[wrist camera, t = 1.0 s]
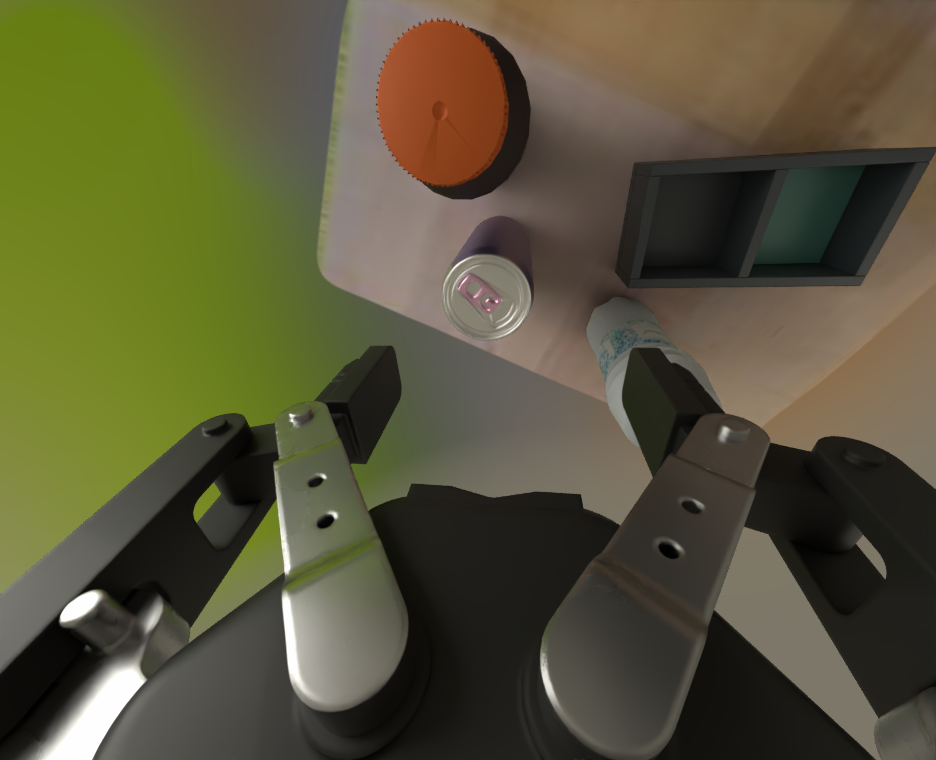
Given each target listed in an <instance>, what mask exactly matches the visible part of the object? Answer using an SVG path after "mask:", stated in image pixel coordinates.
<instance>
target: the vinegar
mask: <svg viewBox="0 0 936 760" xmlns="http://www.w3.org/2000/svg"><path fill="white" fill-rule="evenodd" d="M413 28H414V29H412V30H409V29H408V32H406V33H405V34H404V33H402V34H403V37H402V38H401V39H400V38H399V37H398V40H399V41H398V43H397V44H395V43H393V44H394V47H393V48H392V49H390V53H389V55H386V56H387V60H386V62H385V61H383V63H384V64H385V65H384V67H383V68H381V70H382V72H381V75H379V77H380V82H377V83H378V84H379V89H376V90H377V91H378V96H376V98H377V102H378V103H377V104H376V105H377V106H378V111H376V112H377V113H379V118H377V119H379V120H380V124H379V126H381V129H382V131H381V133H383V134H384V137H383V139H385V140H386V142H387V143H386V145H388V148H389V150H388V151H391V152H392V153H393V154H392V156H395V158H396V160H395V161H398V162H399V163H400V164H399V166H402V167H404V169H403V170H407V171H408V174H412V177H416V178H417V180H419V181H421V182H422V183H423V184H424V185H426V186H427V187H428V188H429V189H431V190H432V191H433V192H435V193H437V194H440V195H443V196H445V197H448V198H451V199H475V198H477V197H480V196H483V195H486V194H488V193H491V192H492V191H493V190H495V189H496V188H497V187H498V186H500V185H501V184H502V183H503V182H504V181H506V180H507V179H508V178H509V176H510V175H511V173H512V172H513V171H514V169H515V168H516V166H517V165H518V163H519V162H520V160H521V159H522V156H523V153H524V150H525V147H526V144H527V140H528V136H529V125H530V111H531V107H530V101H529V96H528V91H527V86H526V80H525V78H524V76H523V75H522V73H521V71H520V69H519V67H518V65H517V63H516V61H515V59H514V57H513V55H512V54H511V53H510V52H509V51H508V50H507V49H506V48H504V47H503V46H502V45H501V44H500V43H499V42H498V41H497V40H496V39H495V38H494V37H492V36H490V35H487V34H485V33H482V32H480V31H477V30H475V29H472V28H469V27H468V28H465V27H464V25H463V23H462V25H461V26H459V24H458V22H457V21H456V22H455V24H454V23H452V21H451V19H450V20H449V21H446V20H445V18H444V19H443V21H440V20H439V19H438V18H437V22H434V21H433V20H432V18H431V22H427V21H426V20H425V23H423V24H421V23H420V22H419V26H418V27H415V26H414V25H413Z"/></svg>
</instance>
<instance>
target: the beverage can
mask: <svg viewBox="0 0 936 760" xmlns="http://www.w3.org/2000/svg"><path fill="white" fill-rule="evenodd" d="M533 299H534V284H533V273H532V262H531V251H530V242H529V238H528V235H527V233H526V231H525V229H524V228H523V227H522V226H521V225H520V224H519V223H518V222H517V221H515V220H513V219H511V218H509V217H504V216H495V217H491V218H488V219H486V220H484V221H483V222H481V223H480V224H479V225H478V226H477V227H476V228H475V230H474V231H473V233H472V234H471V236H470V237H469V238H468V240H467V241H466V243H465V244H464V246H463V247H462V249H461V250H460V252H459V253H458V255H457V256H456V258H455V259H454V261H453V262H452V264H451V265H450V267H449V268H448V270H447V272H446V274H445V277H444V281H443V287H442V302H443V307H444V310H445V313H446V315H447V317H448V319H449V320H450V322H451V323H452V324H453V326H454V327H455V328H456V329H458V330H459V331H460V332H461V333H463V334H465V335H467V336H469V337H471V338H474V339H478V340H486V341H489V340H497V339H501V338H504V337H506V336H508V335H510V334H512V333H513V332H514V331H516V330H517V329H518V328H519V327H520V326H521V325H522V323H523V322H524V321H525V319H526V317H527V315H528V313H529V311H530V309H531V306H532V303H533Z"/></svg>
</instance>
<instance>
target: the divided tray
mask: <svg viewBox="0 0 936 760" xmlns="http://www.w3.org/2000/svg"><path fill="white" fill-rule="evenodd" d="M935 152H936V147H918V148H880V149H860V150H843V151H826V152H809V153H792V154H775V155H758V156H741V157H724V158H707V159H690V160H673V161H656V162H639V163H634V166H633V172H632V178H631V184H630V189H629V195H628V201H627V207H626V212H625V218H624V224H623V230H622V236H621V241H620V247H619V253H618V259H617V264H616V270H615V273H616V274H617V275H618V276H619V278H620V279H621V280H622V281H623V282H624V284H625V285H626V286H627V287H628V288H699V287H793V286H860V285H861V284H862V282H863V280H864V278H865V277H866V275H867V273H868V271H869V270H870V268H871V266H872V264H873V263H874V261H875V259H876V257H877V255H878V254H879V252H880V250H881V248H882V247H883V245H884V243H885V241H886V239H887V238H888V236H889V234H890V232H891V231H892V229H893V227H894V225H895V223H896V222H897V220H898V218H899V216H900V215H901V213H902V211H903V209H904V207H905V206H906V204H907V202H908V200H909V199H910V197H911V195H912V193H913V192H914V190H915V188H916V186H917V184H918V183H919V181H920V179H921V177H922V176H923V174H924V172H925V170H926V168H927V167H928V165H929V163H930V162H929V161H931V159H932V158H933V156H934V154H935Z"/></svg>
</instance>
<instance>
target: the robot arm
mask: <svg viewBox="0 0 936 760" xmlns="http://www.w3.org/2000/svg"><path fill="white" fill-rule="evenodd" d="M400 397H401V380H400V375H399V370H398V364H397V359H396V353H395V350H394V348H393V347H392V346H370V347H369V348H368V349H367V350H366V352H365V353H364V354H363V355H362V356H361V357H360V359H356V360H354V361H352V362H351V363H349V364H347V365H346V366H345V367H344V368H343V369H342V370H341V371H340V372H339V373H338V375H337V376H336V377H335V378H334V379H333V380H332V382H330V383H329V385H328V386H327V387H326V388H325V389H324V390H323V391H322V392H321V393H320V395H319V396H318V397H317V398H316V399H315V400H314V401H307V402H302V403H299V404H296V405H293V406H291V407H289V408H287V409H286V410H284V411H283V412H281V413H280V414H279V415H278V416H277V418H276V420H275V423H273V424H267V425H261V426H255V427H249V425H248V423H247V421H246V419H245V417H244V416H243V415H241V414H237V413H231V414H224V415H219V416H216V417H214V418H211V419H208V420H207V421H204V422H202V423H201V424H199V425H197V426H196V427H195V428H193V429H192V430H191V431H190V432H189V433H188V434H186V435H185V436H184V437H183V438H182V439H181V440H179V441H178V442H177V443H176V444H175V445H174V446H172V447H171V448H170V449H169V450H168V451H167V452H166V453H164V454H163V455H162V456H161V457H160V458H158V459H157V460H156V461H155V462H154V463H153V464H151V465H150V466H149V467H148V468H147V469H146V470H144V472H142V473H141V474H140V475H139V476H137V477H136V478H135V479H134V480H133V481H132V482H130V483H129V484H128V485H127V486H126V487H125V488H124V489H122V490H121V491H120V492H119V493H118V494H116V495H115V496H114V497H113V498H112V499H111V500H110V501H108V502H107V503H106V504H105V505H104V506H102V507H101V508H100V509H99V510H98V511H97V512H95V513H94V514H93V515H92V516H91V517H90V518H88V519H87V520H86V521H85V522H84V523H83V524H81V525H80V526H79V527H78V528H77V529H76V530H74V531H73V532H72V533H71V534H70V535H69V536H67V537H66V538H65V539H64V540H63V541H62V542H60V543H59V544H58V545H57V546H56V547H55V548H54V549H52V550H51V551H50V552H49V553H48V554H46V555H45V556H44V557H43V558H42V559H41V560H40V561H38V562H37V563H36V564H35V565H34V566H32V567H31V568H30V569H29V570H28V571H27V572H25V573H24V574H23V575H22V576H21V577H20V578H18V579H17V580H16V581H15V582H14V583H13V584H11V585H10V586H9V587H8V588H7V589H6V590H4V591H3V592H2V593H1V594H0V760H875V759H874V758H873V757H872V756H871V755H870V754H869V753H868V752H867V751H866V750H865V749H864V748H863V747H862V746H861V745H860V744H859V743H858V742H857V741H855V740H854V739H853V738H852V737H851V736H850V735H849V734H848V733H847V732H846V731H845V730H844V729H843V728H841V727H840V726H839V725H838V724H837V723H836V722H835V721H834V720H833V719H832V718H831V717H829V716H828V715H827V714H826V713H825V712H824V711H823V710H822V709H821V708H820V707H819V706H818V705H816V704H815V703H814V702H813V701H812V700H811V699H810V698H809V697H808V696H807V695H806V694H805V693H804V692H803V691H801V690H800V689H799V688H798V687H797V686H796V685H795V684H794V683H793V682H791V680H789V679H788V678H787V677H786V676H785V675H784V674H783V673H782V672H781V671H780V670H779V669H777V667H775V666H774V665H773V664H772V663H771V662H770V661H769V660H768V659H767V658H766V657H765V656H764V655H762V654H761V653H760V652H759V651H758V650H757V649H756V648H755V647H754V646H753V645H752V644H751V643H749V642H748V641H747V640H746V639H745V638H744V637H743V636H742V635H741V634H740V633H739V632H738V631H737V630H735V629H734V628H733V627H732V626H731V625H730V624H729V623H728V622H727V621H726V620H725V619H724V618H722V617H721V616H720V615H719V614H718V613H717V612H716V611H715V610H714V608H715V605H716V603H717V600H718V597H719V594H720V592H721V588H722V586H723V583H724V580H725V578H726V575H727V572H728V569H729V566H730V564H731V561H732V558H733V555H734V552H735V549H736V547H737V544H738V541H739V539H740V535H741V533H742V530H743V527H747V528H750V529H753V530H757V531H760V532H763V533H766V534H769V536H770V538H771V540H772V541H773V543H774V544H775V546H776V548H777V549H778V551H779V553H780V555H781V556H782V558H783V560H784V561H785V563H786V564H787V566H788V568H789V570H790V571H791V573H792V575H793V576H794V578H795V580H796V581H797V583H798V585H799V586H800V588H801V590H802V591H803V593H804V595H805V596H806V598H807V600H808V601H809V603H810V604H811V606H812V608H813V610H814V611H815V613H816V615H817V616H818V618H819V620H820V621H821V623H822V625H823V626H824V628H825V630H826V631H827V633H828V635H829V636H830V638H831V640H832V641H833V643H834V645H835V646H836V648H837V649H838V651H839V653H840V654H841V656H842V658H843V660H844V661H845V663H846V665H847V666H848V668H849V670H850V671H851V673H852V675H853V676H854V678H855V680H856V681H857V683H858V685H859V686H860V688H861V690H862V691H863V693H864V695H865V696H866V698H867V700H868V701H869V703H870V705H871V706H872V708H873V710H874V711H875V713H876V715H877V716H878V718H879V719H878V720H877V722H876V725H875V728H874V738H875V744H876V747H877V750H878V753H879V755H880V758H881V760H936V489H934V488H933V487H932V486H931V485H930V484H928V483H927V482H926V481H925V480H924V479H923V478H921V477H920V476H919V475H918V474H916V473H915V472H914V471H913V470H912V469H911V468H909V467H908V466H907V465H906V464H904V463H903V462H902V461H901V460H899V459H898V458H897V457H895V456H893V455H892V454H890V453H889V452H887V451H884V450H883V449H880V448H878V447H876V446H874V445H871V444H868V443H866V442H863V441H859V440H855V439H851V438H846V437H838V436H837V437H836V436H831V437H824V438H821V439H819V440H818V442H817V443H816V445H815V446H814V448H813V449H812V451H811V452H810V451H805V450H801V449H796V448H791V447H787V446H782V445H778V444H774V443H770V438H769V436H768V434H767V433H766V432H765V431H764V430H763V429H762V428H760V427H759V426H757V425H756V424H754V423H752V422H750V421H748V420H746V419H744V418H741V417H738V416H734V415H730V414H725V412H724V411H723V410H722V409H721V408H720V406H719V405H718V404H717V403H716V402H715V400H714V399H713V398H712V397H711V396H710V394H709V393H708V392H707V391H705V388H704V387H703V386H702V385H701V383H698V380H697V379H696V377H695V376H694V375H693V374H692V373H691V371H689V370H687V369H686V368H684V367H682V366H681V365H679V364H677V363H671V362H670V361H669V360H668V358H667V357H666V356H665V355H664V353H663V352H662V351H661V349H660V348H641V347H634V348H632V349H631V351H630V354H629V359H628V364H627V368H626V373H625V378H624V383H623V388H622V404H623V408H624V410H625V413H626V415H627V417H628V420H629V422H630V424H631V427H632V429H633V431H634V434H635V436H636V438H637V441H638V443H639V446H640V448H641V450H642V453H643V455H644V457H645V460H646V462H647V464H648V467H649V469H650V471H651V474H652V476H653V479H652V480H651V482H650V483H649V484H648V486H647V488H646V489H645V490H644V492H643V493H642V495H641V496H640V498H639V499H638V501H637V502H636V504H635V505H634V507H633V508H632V510H631V511H630V512H629V514H628V515H627V517H626V518H625V520H624V521H623V523H622V524H621V526H620V525H619V524H617V523H615V522H614V521H612V520H610V519H608V518H606V517H604V516H602V515H600V514H597V513H595V512H593V511H590V510H587V509H583V504H582V498H581V494H567V493H552V492H531V493H524V494H517V495H510V496H503V497H496V498H492V497H486V496H483V495H480V494H476V493H473V492H470V491H466V490H462V489H459V488H456V487H452V486H442V485H441V486H440V485H426V484H411V486H410V489H409V492H408V495H407V497H401V498H397V499H394V500H391V501H388V502H385V503H383V504H381V505H378V506H376V507H374V508H372V509H371V510H369V511H368V509H367V506H366V503H365V501H364V498H363V496H362V493H361V491H360V488H359V486H358V483H357V480H356V478H355V475H354V472H353V470H352V467H351V463H356V464H366V463H367V461H368V459H369V458H370V456H371V454H372V452H373V450H374V448H375V446H376V444H377V442H378V440H379V439H380V437H381V435H382V433H383V431H384V429H385V427H386V425H387V423H388V421H389V419H390V417H391V416H392V414H393V412H394V410H395V408H396V406H397V404H398V402H399V400H400ZM213 482H214V483H215V485H216V486H217V488H218V489H219V491H220V492H221V495H220V496H219V497H218V499H217V500H216V501H215V502H214V503H213V505H212V506H211V507H210V508H209V509H208V511H207V512H206V513H205V514H204V515H203V517H202V518H201V519H200V520H199V521H198V523H196V521H195V520H194V516H193V511H194V507H195V504H196V502H197V500H198V499H199V498H200V497H201V496H202V494H203V493H204V492H205V491H206V490H207V489H208V488H209V486H211V484H212V483H213ZM276 499H277V503H278V513H279V522H280V531H281V541H282V550H283V558H284V568H285V572H284V573H283V574H282V575H280V576H279V577H278V578H276V579H275V580H273V581H272V582H271V583H269V584H268V585H267V586H265V587H264V588H263V589H261V590H260V591H259V592H257V593H256V594H255V595H253V596H252V597H251V598H249V599H248V600H247V601H245V602H244V603H242V604H241V605H240V606H238V607H237V608H236V609H234V610H233V611H232V612H230V613H229V614H228V615H226V616H225V617H224V618H222V619H221V620H219V621H218V622H217V623H215V624H214V625H213V626H211V627H210V628H209V629H207V630H206V631H205V632H203V633H202V634H201V635H199V636H198V637H197V638H195V639H194V640H193V641H191V642H190V643H188V642H189V638H190V628H191V627H192V625H193V624H194V622H195V621H196V619H197V618H198V616H199V614H200V613H201V611H202V610H203V608H204V607H205V605H206V604H207V603H208V601H209V600H210V598H211V597H212V595H213V594H214V592H215V591H216V589H217V588H218V586H219V584H220V583H221V582H222V580H223V579H224V577H225V575H226V574H227V573H228V571H229V570H230V568H231V566H232V565H233V563H234V562H235V560H236V559H237V557H238V556H239V554H240V553H241V551H242V550H243V548H244V547H245V545H246V544H247V542H248V541H249V539H250V538H251V536H252V535H253V533H254V532H255V530H256V529H257V527H258V526H259V524H260V523H261V521H262V520H263V518H264V517H265V515H266V514H267V512H268V511H269V509H270V508H271V506H272V505H273V503H274V502H275V500H276ZM863 535H864V536H865V537H866V538H867V539H868V540H869V542H870V543H871V544H872V545H873V546H874V548H875V549H876V550H877V551H878V552H879V554H880V555H881V557H882V558H883V560H884V563H885V566H886V571H887V575H886V580H885V579H884V578H883V576H882V575H881V574H880V573H879V571H878V570H877V569H876V568H875V566H874V565H873V564H872V563H871V562H870V560H869V559H868V558H867V557H866V556H865V554H864V553H863V552H862V551H861V549H860V548H859V547H858V546H857V545H856V543H857V541H858V540H859V539H860V538H861V537H862V536H863Z"/></svg>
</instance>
